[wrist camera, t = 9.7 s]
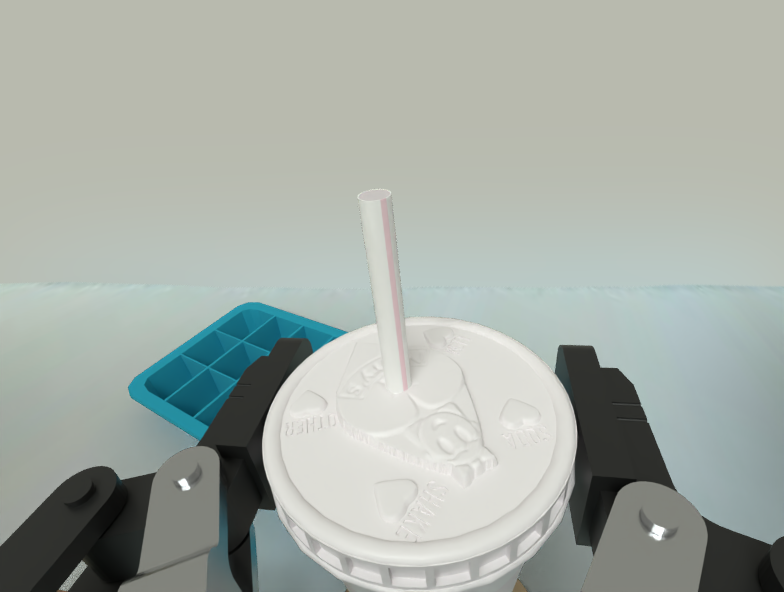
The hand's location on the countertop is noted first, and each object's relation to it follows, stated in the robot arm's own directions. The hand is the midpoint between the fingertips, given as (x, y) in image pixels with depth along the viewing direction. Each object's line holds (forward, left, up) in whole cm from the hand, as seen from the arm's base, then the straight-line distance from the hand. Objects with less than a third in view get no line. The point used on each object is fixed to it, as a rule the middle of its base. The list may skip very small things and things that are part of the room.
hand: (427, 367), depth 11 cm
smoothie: (+1, -2, -9) cm, 9 cm away
